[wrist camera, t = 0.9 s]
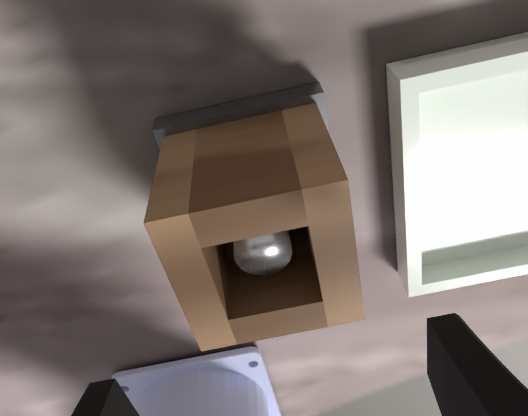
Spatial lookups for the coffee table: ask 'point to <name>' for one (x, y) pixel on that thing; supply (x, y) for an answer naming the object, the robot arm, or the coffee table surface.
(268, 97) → the grey base with peg
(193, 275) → the brown framed cube
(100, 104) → the coffee table surface
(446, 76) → the tray
